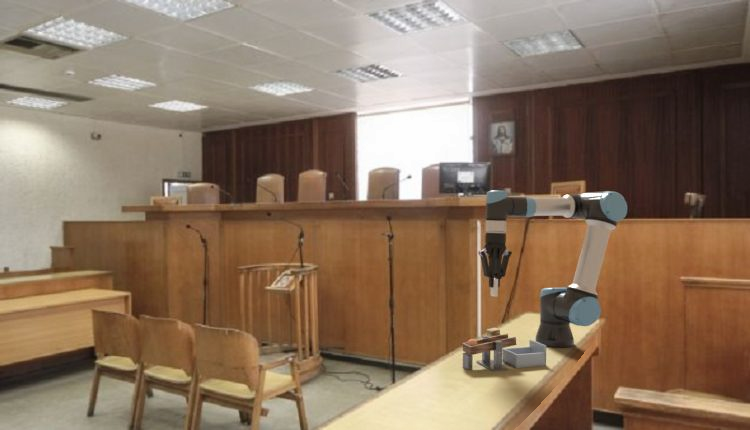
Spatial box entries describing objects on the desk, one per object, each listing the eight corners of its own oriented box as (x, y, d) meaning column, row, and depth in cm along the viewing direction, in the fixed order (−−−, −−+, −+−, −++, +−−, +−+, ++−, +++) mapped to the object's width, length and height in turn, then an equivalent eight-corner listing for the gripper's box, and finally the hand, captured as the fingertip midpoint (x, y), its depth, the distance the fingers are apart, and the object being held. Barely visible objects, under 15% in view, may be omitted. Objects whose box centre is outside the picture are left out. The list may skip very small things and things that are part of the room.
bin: (530, 358, 198) (531, 339, 198) (546, 365, 189) (546, 345, 189) (502, 361, 194) (502, 341, 194) (516, 368, 186) (516, 347, 185)
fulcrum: (491, 361, 194) (491, 334, 194) (507, 369, 183) (508, 342, 183) (458, 363, 190) (458, 337, 190) (473, 372, 179) (473, 344, 179)
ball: (476, 343, 188) (471, 336, 187) (480, 345, 184) (476, 338, 184) (468, 349, 187) (463, 342, 186) (473, 352, 183) (468, 344, 183)
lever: (496, 336, 200) (495, 327, 200) (516, 344, 187) (515, 335, 187) (452, 345, 195) (451, 336, 195) (470, 355, 182) (469, 345, 182)
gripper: (505, 232, 204) (504, 294, 204) (475, 231, 200) (473, 295, 200) (516, 233, 197) (514, 297, 197) (485, 232, 193) (483, 298, 193)
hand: (493, 296), depth 198 cm, fingers closed
